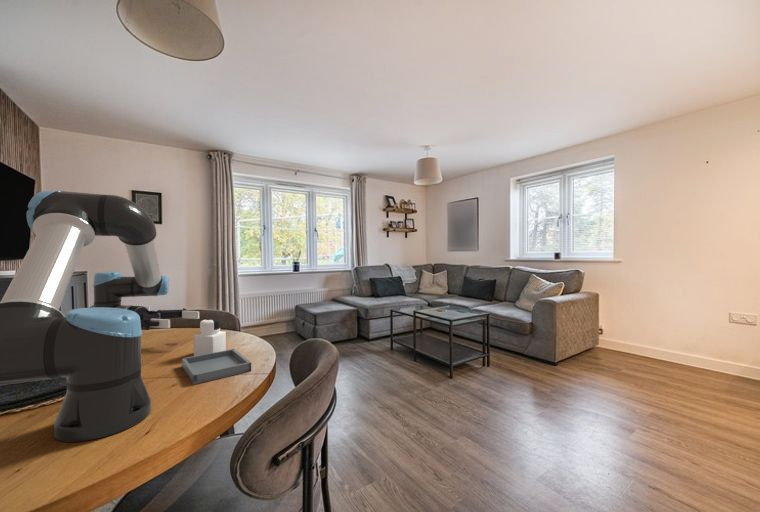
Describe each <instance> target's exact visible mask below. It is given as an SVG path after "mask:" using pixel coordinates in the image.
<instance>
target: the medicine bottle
mask: <svg viewBox="0 0 760 512" xmlns="http://www.w3.org/2000/svg"><path fill="white" fill-rule="evenodd" d="M199 324H200V325H199V330H200V331H199V332H200V333H198V334H194V335H193V356H198V355H203V354H209V353H214V352H219V351H225V350H227V347H226V346H227V344H226V342H227V340H226V339H227V338H226V337H227V336H226V335H227V332H226V331H221V320H220V319H219V318H204V319H203V320H201V321H200V322H199Z"/></svg>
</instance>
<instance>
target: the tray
mask: <svg viewBox="0 0 760 512" xmlns="http://www.w3.org/2000/svg"><path fill="white" fill-rule="evenodd" d="M181 367H182V369H183V371H184V373H186V375H187V377H188V378H189V380H190V381H191V383H192V384H193V385H198V384H202V383H206V382H210V381H215V380H219V379H223V378H228V377H231V376H235V375H236V376H237V375H239V374H240V373H241V374H245V373H249V372H252V362H251V361H250V360H249V359H247V358H246V357H245V356H243V354H241V353H240V352H239V351H237V350H236V349H234V348H231V349H226V350H225V351H219V352H214V353H209V354H203V355H198V356H194V355H193V356H188V357H182V358H181ZM248 371H249V372H248ZM244 372H245V373H244Z"/></svg>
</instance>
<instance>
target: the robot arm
mask: <svg viewBox="0 0 760 512" xmlns="http://www.w3.org/2000/svg"><path fill="white" fill-rule="evenodd" d="M27 208H28V209H27V211H26V221H27V225H28V227H29V229H30V230H31V231H32V232H33V233H34V234H35V237H34V239H33V240H32V242H31V245H30V246H29V248H28V250H27V251H26V253H25V256H24V257H23V259H22V262H21V263H20V265H19V267H18V269H17V271H16V273H15V274H14V277H13V278H12V280H11V281H10V284H9V286H8V288H7V289H6V291H5V293H4V295H3V297H2V298H1V300H0V386H1V387H2V386H8V385H15V384H23V383H31V382H32V383H33V382H38V381H45V380H54V379H60V378H66V379H65V380H66V393H65V396H64V398H63V401H62V403H61V406H60V408H59V410H58V413H57V415H56V417H55V420H54V423H53V437H54V438H55V439H56V440H58V441H61V442H65V443H67V442H68V443H69V442H71V443H73V442H75V443H77V442H86V441H91V440H96V439H100V438H104V437H108V436H111V435H114V434H115V435H116V434H117V433H121V432H122V431H125V430H126V429H127V430H128V429H129V428H132V427H134V426H136V425H137V424H139V423H140V422H142V421H143V420H145V419H146V418H147V417H148V416H149V415H150V413H151V412H152V401H151V397H150V395H149V392H148V391H147V390H148V389H147V388H146V385H145V383H144V381H143V378H142V335H143V331H142V329H144V330H145V331H149V330H150V329H151V328H153V329H154V328H155V329H156V328H157V329H158V328H159V329H171V319H178V318H182V319H190V320H191V319H192V320H198V319H200V311H198V310H197V311H196V310H188V309H187V308H185V307H184V308H181V309H158V310H149V309H148V308H147V307H146V306H143V305H129V304H128V305H127V304H125V305H124V304H122V298H130V297H131V298H135V297H158V296H166V295H168V294H169V290H170V289H169V287H170V279H169V277H168V276H167V275H161V270H160V264H159V260H158V255H157V254H158V253H157V248H156V244H155V239H156V237H157V228H156V224H155V223H154V221H153V219H152V217H151V216H150V215H149V214H148V212H147V211H145V209H143V208H142V207H141V205H138V204H137V203H136V202H134V201H133V200H130V199H128V198H126V197H123V196H119V195H115V194H99V193H98V194H97V193H89V192H88V193H87V192H76V191H66V190H65V191H64V190H42V191H40V192H36V194H35V195H33V196H32V198H31V199H30V201H29V202H28V205H27ZM97 236H98V237H117V238H118V239H119V241H120V242H121V243H123V244H124V246H125V248H126V253H127V256H128V259H129V262H130V265H131V268H132V271H133V275H134V276H122V273H121V272H120V271H100V272H99V271H98V272H96V273H95V274H94V277H93V285H92V286H93V304H92V305H90V306H89V307H80V308H73V309H69V310H68V311H67V312H66V314H65V315H64V313H63V312H62V311H61V310H60V308H61V306H62V304H63V301H64V297H65V296H66V293H67V291H68V287H69V285H70V283H71V279H72V276H73V274H74V272H75V269H76V267H77V264H78V261H79V259H80V256H81V254H82V251H83V248H84V247H87V246H88V245H90V244H91V243H93V241H94V240H95V237H97Z"/></svg>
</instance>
